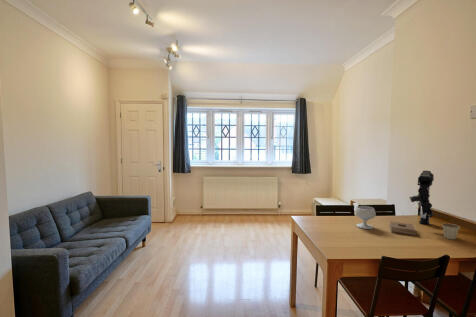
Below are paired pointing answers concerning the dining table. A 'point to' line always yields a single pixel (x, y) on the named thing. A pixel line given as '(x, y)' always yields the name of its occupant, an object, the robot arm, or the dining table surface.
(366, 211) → the chalice
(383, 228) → the dining table surface
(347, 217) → the dining table surface
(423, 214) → the pin
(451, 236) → the flower pot
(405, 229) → the bore block
